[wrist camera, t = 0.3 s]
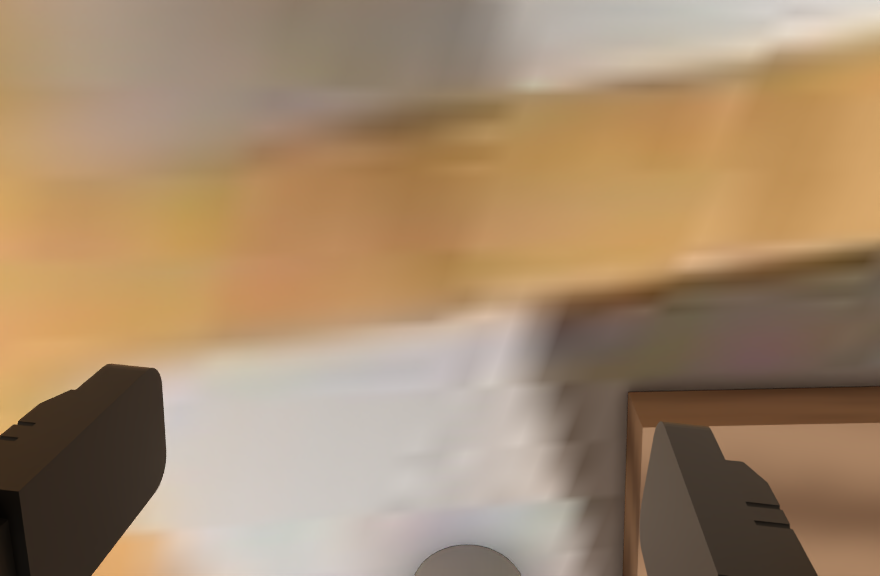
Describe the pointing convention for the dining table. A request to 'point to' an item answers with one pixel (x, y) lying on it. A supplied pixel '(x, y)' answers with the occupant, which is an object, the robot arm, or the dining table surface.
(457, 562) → the grey bottle
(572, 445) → the dining table surface
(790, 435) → the walnut base
